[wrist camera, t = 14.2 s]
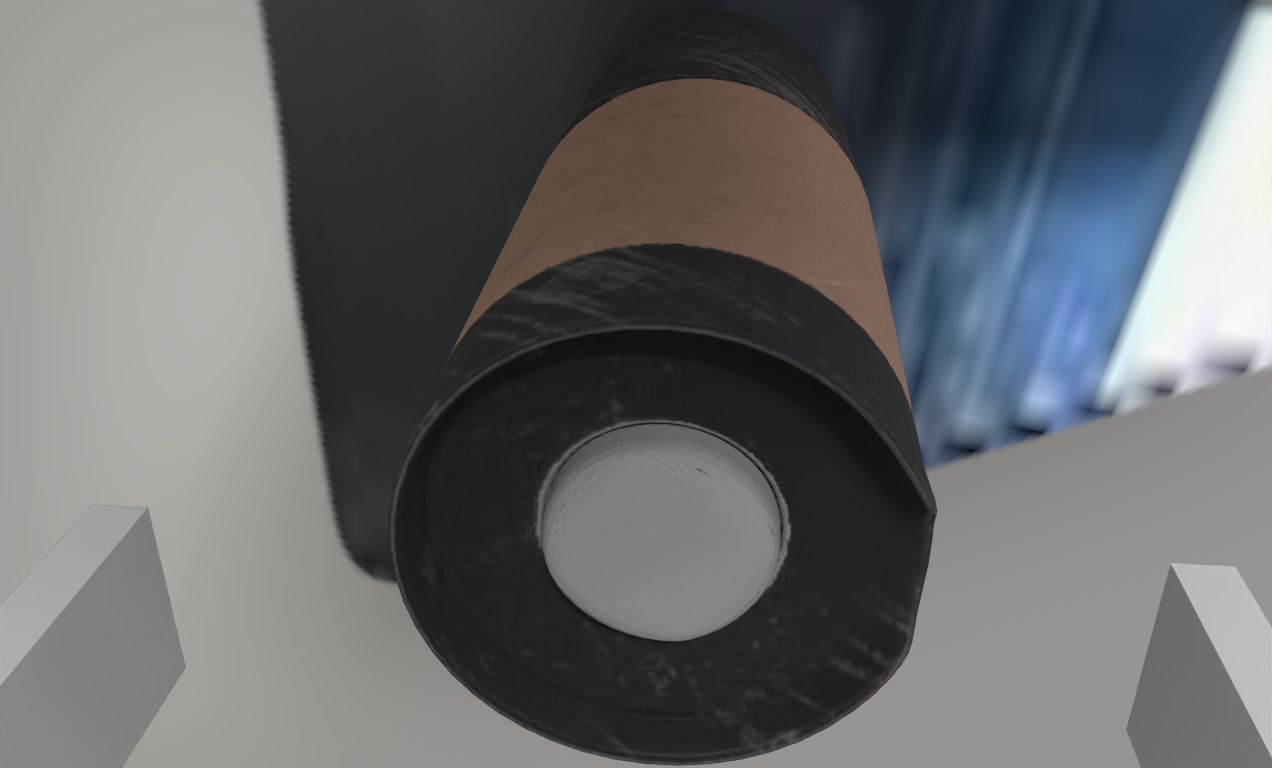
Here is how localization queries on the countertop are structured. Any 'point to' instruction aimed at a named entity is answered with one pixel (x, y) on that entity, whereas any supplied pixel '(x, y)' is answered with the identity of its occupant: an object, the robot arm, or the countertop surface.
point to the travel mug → (676, 425)
